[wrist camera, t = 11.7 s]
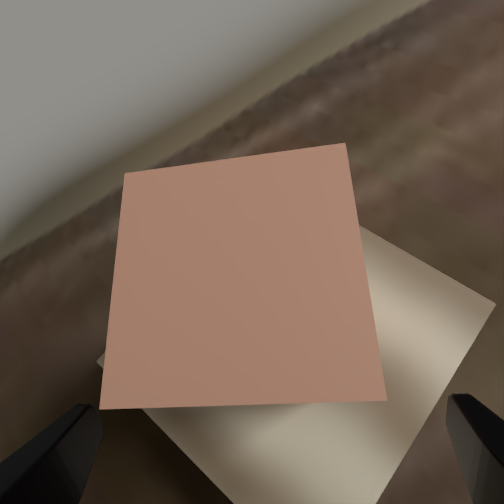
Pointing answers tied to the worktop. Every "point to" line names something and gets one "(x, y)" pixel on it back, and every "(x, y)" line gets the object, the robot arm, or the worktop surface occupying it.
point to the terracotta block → (241, 286)
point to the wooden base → (342, 413)
